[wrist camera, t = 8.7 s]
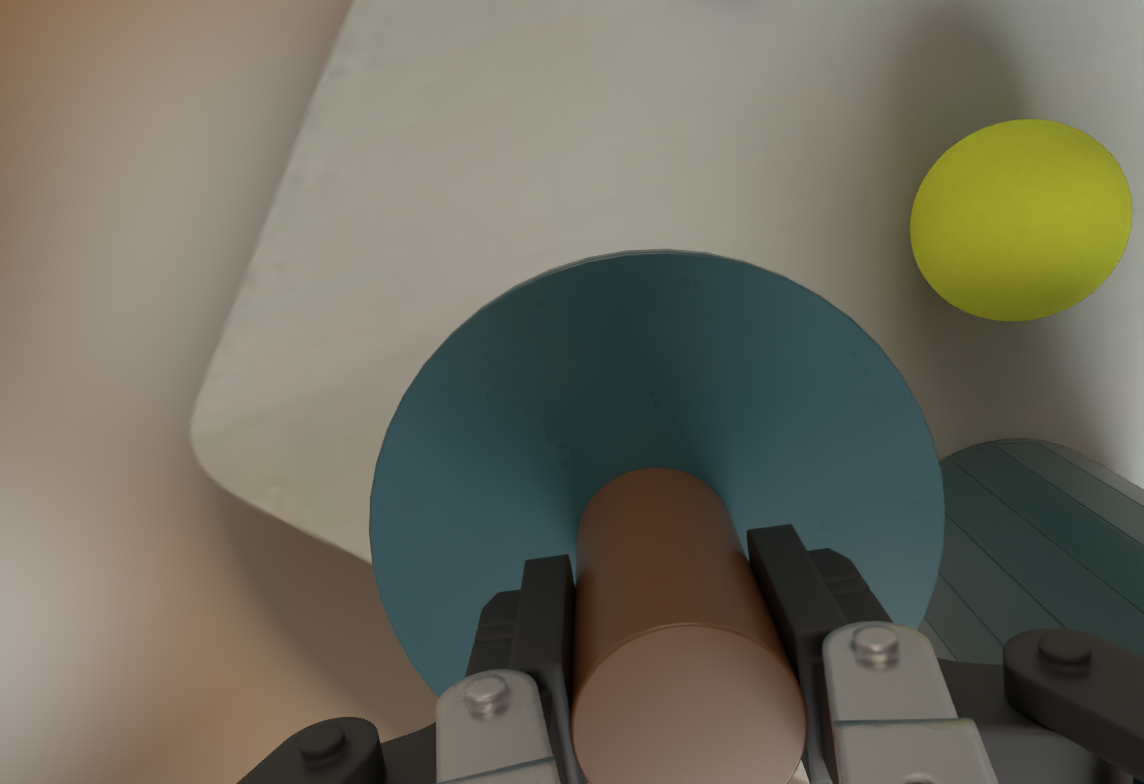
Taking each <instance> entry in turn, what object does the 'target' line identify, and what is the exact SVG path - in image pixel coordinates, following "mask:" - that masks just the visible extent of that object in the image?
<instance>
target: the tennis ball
mask: <svg viewBox="0 0 1144 784" xmlns="http://www.w3.org/2000/svg"><path fill="white" fill-rule="evenodd" d="M1131 225H1132V199H1131V194H1130V189H1129V186H1128V183H1127V180H1126V178H1125V176H1124V174H1123V172H1122V169H1121V167H1120V166H1119V164H1118V163H1117V161H1116V160H1115V158H1114V157H1113V156H1112V154H1111V153H1110V152H1109V151H1108V150H1107V149H1106V148H1105V147H1104V146H1103V145H1101V144H1100V143H1099V142H1098V141H1096V140H1095V139H1094V138H1093V137H1091V136H1090V135H1088V134H1086V133H1084V132H1083V131H1081V130H1079V129H1076V128H1074V127H1071V126H1069V125H1066V124H1063V123H1059V122H1054V121H1050V120H1040V119H1020V120H1012V121H1006V122H1001V123H998V124H995V125H991V126H988V127H985V128H983V129H980V130H978V131H976V132H974V133H972V134H970V135H968V136H967V137H965V138H964V139H962V140H960V141H959V142H957V143H956V144H955V145H953V146H952V147H951V148H950V149H948V150H947V151H946V152H945V153H944V154H943V155H942V156H941V157H940V158H939V159H938V160H937V161H936V162H935V164H934V165H933V166H932V168H931V169H930V170H929V171H928V173H927V175H926V176H925V178H924V180H923V181H922V183H921V185H920V188H919V190H918V192H917V194H916V197H915V200H914V204H913V207H912V213H911V219H910V237H911V245H912V250H913V254H914V257H915V260H916V262H917V265H918V267H919V269H920V271H921V273H922V274H923V276H924V278H925V279H926V280H927V282H928V283H929V284H930V286H931V287H932V288H933V289H934V290H935V291H936V292H937V293H938V294H939V295H940V296H941V297H942V298H944V299H945V300H946V301H948V302H949V303H950V304H952V305H954V306H955V307H957V308H959V309H961V310H963V311H965V312H967V313H969V314H972V315H975V316H977V317H982V318H986V319H991V320H995V321H1007V322H1012V321H1028V320H1034V319H1040V318H1043V317H1047V316H1050V315H1053V314H1056V313H1058V312H1061V311H1063V310H1065V309H1067V308H1070V307H1071V306H1073V305H1075V304H1077V303H1078V302H1080V301H1082V300H1083V299H1084V298H1086V297H1087V296H1088V295H1090V294H1091V293H1092V292H1093V291H1094V290H1095V289H1096V288H1098V287H1099V286H1100V285H1101V284H1102V283H1103V282H1104V281H1105V280H1106V278H1107V277H1108V276H1109V275H1110V274H1111V272H1112V271H1113V269H1114V268H1115V266H1116V265H1117V263H1118V262H1119V260H1120V258H1121V256H1122V254H1123V252H1124V250H1125V247H1126V244H1127V242H1128V239H1129V235H1130V230H1131Z"/></svg>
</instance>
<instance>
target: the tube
mask: <svg viewBox="0 0 1144 784" xmlns="http://www.w3.org/2000/svg"><path fill="white" fill-rule="evenodd" d="M939 465H940V469H941V474H942V481H943V492H944V504H945V525H944V543H943V552H942V557H941V562H940V567H939V572H938V577H937V582H936V585H935V588H934V591H933V594H932V597H931V600H930V603H929V605H928V608H927V611H926V614H925V617H924V619H923V621H922V623H921V625H920V627H919V629H918V631H919V632H920V633H922V634H923V635H924V636H926V637H927V639H928V640H929V641H930V643H931V645H932V647H933V650H934V653H935V655H936V657H937V658H941V659H945V660H950V661H956V662H964V663H978V664H996V665H1003V655H1002V650H1003V646H1004V645H1005V643H1006V642H1007V641H1008V640H1009V639H1010V638H1011V637H1013V636H1015V635H1017V634H1019V633H1022V632H1025V631H1030V630H1035V629H1043V628H1060V629H1071V630H1077V631H1082V632H1087V633H1090V634H1093V635H1097V636H1099V637H1102V638H1104V639H1107V640H1109V641H1111V642H1113V643H1116V644H1118V645H1120V646H1123V647H1125V648H1127V649H1129V650H1132V651H1134V652H1136V653H1138V654H1141V655H1143V656H1144V489H1142V488H1140V487H1138V486H1137V485H1135V484H1133V483H1131V482H1130V481H1128V480H1126V479H1124V478H1123V477H1121V476H1119V475H1117V474H1116V473H1114V472H1112V471H1110V470H1109V469H1107V468H1105V467H1103V466H1102V465H1100V464H1098V463H1096V462H1095V461H1093V460H1091V459H1089V458H1088V457H1086V456H1084V455H1082V454H1081V453H1078V452H1076V451H1073V450H1071V449H1068V448H1066V447H1063V446H1060V445H1057V444H1054V443H1049V442H1045V441H1040V440H1030V439H1005V440H998V441H992V442H986V443H983V444H979V445H976V446H972V447H969V448H967V449H964V450H962V451H960V452H957V453H955V454H953V455H951V456H949V457H947V458H945V459H944V460H942V461H940V462H939ZM1133 784H1144V783H1143V782H1142V781H1140V780H1138V779H1136V778H1135V777H1133Z"/></svg>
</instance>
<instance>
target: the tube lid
mask: <svg viewBox="0 0 1144 784" xmlns="http://www.w3.org/2000/svg"><path fill="white" fill-rule="evenodd" d="M786 524H792V525H793V527H794V529H795V531H796V532H797V534H798V536H799V537H800V539H801V541H802V543H803V544H804V546H805V548H806V550H807V551H809V550H817V549H824V548H830V549H832V550H834V551H836V552H838V553H839V554H841V555H843V556H845V557H847V558H849V559H851V561H852V562H853V564H854V565H855V567H856V568H857V570H858V571H859V572H860V574H861V577H862V578H864V580H865V581H866V583H867V584H868V586H869V587H870V591H872V592H873V593H874V595H875V596H876V598H877V599H878V601H879V602H880V603H881V605H882V606H883V608H884V609H885V611H886V612H887V614H888V615H889V617H890V618H891V620H892V621H893V623H898V624H901V625H905V626H908V627H910V628H913V629H915V630H917V631H918V629H919V627H920V625H921V623H922V621H923V619H924V617H925V614H926V611H927V608H928V605H929V603H930V600H931V597H932V594H933V591H934V588H935V585H936V582H937V577H938V572H939V567H940V562H941V557H942V552H943V543H944V525H945V504H944V492H943V481H942V474H941V469H940V465H939V461H938V457H937V452H936V448H935V444H934V440H933V438H932V435H931V432H930V430H929V427H928V425H927V422H926V420H925V417H924V415H923V412H922V410H921V407H920V405H919V403H918V402H917V400H916V398H915V396H914V395H913V393H912V391H911V389H910V388H909V386H908V384H907V382H906V381H905V379H904V377H903V375H902V374H901V373H900V371H899V370H898V369H897V368H896V366H895V365H894V364H893V362H892V361H891V360H890V359H889V357H888V356H887V355H886V353H885V352H884V351H883V349H882V348H881V347H880V346H879V345H878V344H877V343H876V342H875V341H874V340H873V339H872V338H871V337H870V336H869V335H868V334H867V333H866V332H865V331H864V330H863V329H862V328H861V327H860V326H859V325H858V324H857V323H856V322H855V321H854V320H853V319H852V318H850V317H849V316H848V315H846V314H845V313H843V312H842V311H841V310H839V309H838V308H837V307H835V306H834V305H832V304H831V303H830V302H828V301H827V300H826V299H824V298H823V297H821V296H820V295H818V294H816V293H814V292H813V291H811V290H809V289H807V288H805V287H803V286H801V285H799V284H798V283H796V282H794V281H792V280H790V279H788V278H786V277H784V276H783V275H781V274H778V273H775V272H772V271H770V270H767V269H764V268H762V267H759V266H756V265H754V264H751V263H748V262H745V261H742V260H737V259H733V258H729V257H724V256H720V255H715V254H711V253H706V252H696V251H685V250H673V249H652V250H629V251H621V252H616V253H610V254H605V255H599V256H593V257H588V258H584V259H581V260H578V261H575V262H572V263H569V264H566V265H562V266H559V267H556V268H553V269H550V270H548V271H545V272H543V273H541V274H539V275H537V276H535V277H533V278H531V279H528V280H526V281H524V282H522V283H520V284H518V285H516V286H514V287H512V288H511V289H509V290H508V291H506V292H504V293H503V294H501V295H500V296H498V297H497V298H495V299H494V300H492V301H491V302H489V303H487V304H486V305H484V306H483V307H481V308H480V309H479V310H478V311H477V312H476V313H474V314H473V315H472V316H471V317H470V318H469V319H467V320H466V321H465V322H464V323H463V324H461V325H460V326H459V327H458V328H457V329H456V330H454V331H453V332H452V333H451V335H450V336H449V337H448V338H447V339H446V340H445V341H444V342H443V344H442V345H441V346H440V347H439V348H438V349H437V350H436V351H435V352H434V354H433V355H432V356H431V357H430V358H429V359H428V360H427V361H426V363H425V364H424V365H423V367H422V368H421V370H420V371H419V373H418V374H417V376H416V377H415V379H414V380H413V382H412V383H411V385H410V386H409V388H408V389H407V391H406V392H405V394H404V395H403V397H402V399H401V401H400V403H399V405H398V407H397V410H396V412H395V414H394V416H393V418H392V420H391V422H390V424H389V426H388V428H387V431H386V434H385V437H384V440H383V443H382V447H381V450H380V453H379V456H378V459H377V462H376V467H375V473H374V479H373V485H372V490H371V496H370V520H369V537H370V546H371V555H372V565H373V570H374V574H375V578H376V582H377V586H378V590H379V594H380V598H381V601H382V604H383V607H384V609H385V612H386V614H387V617H388V619H389V621H390V624H391V626H392V629H393V631H394V634H395V635H396V637H397V639H398V641H399V642H400V644H401V646H402V648H403V649H404V652H405V653H406V655H407V657H408V659H409V660H410V662H411V664H412V665H413V666H414V668H415V669H416V670H417V672H418V673H419V674H420V676H421V677H422V678H423V680H424V681H425V682H426V683H427V685H428V686H429V688H430V689H431V690H432V691H433V692H434V693H435V694H436V695H437V696H438V697H439V698H440V697H441V695H442V694H443V693H444V692H445V691H446V690H447V689H448V688H449V687H450V686H452V685H453V684H455V683H456V682H458V681H459V680H461V679H464V678H465V676H466V672H467V667H468V663H469V659H470V655H471V651H472V647H473V643H475V640H474V639H475V635H476V631H477V629H478V623H479V619H480V615H481V611H482V608H483V607H484V606H485V605H486V604H487V603H488V602H489V601H490V600H491V599H492V598H493V597H494V596H495V595H496V594H497V593H498V592H504V591H512V590H519V589H521V584H522V577H523V571H524V565H525V561H526V560H528V559H536V558H543V557H550V556H558V555H565V554H568V555H569V558H570V562H571V567H572V573H573V579H574V584H575V605H574V634H573V663H572V692H571V719H570V736H571V743H572V748H573V753H574V756H575V758H576V761H577V764H578V766H579V768H580V770H581V772H582V774H583V776H584V778H585V779H586V780H587V782H588V783H589V784H787V783H788V782H789V781H790V779H791V778H792V776H793V775H794V773H795V771H796V769H797V767H798V765H799V763H800V761H801V758H802V755H803V752H804V749H805V745H806V739H807V733H808V716H807V708H806V703H805V699H804V696H803V692H802V690H801V688H800V685H799V683H798V680H797V678H796V675H795V673H794V671H793V668H792V666H791V663H790V661H789V658H788V656H787V654H786V651H785V649H784V646H783V644H782V641H781V639H780V636H779V634H778V632H777V629H776V627H775V624H774V622H773V619H772V617H771V615H770V612H769V610H768V607H767V605H766V602H765V600H764V598H763V595H762V593H761V590H760V588H759V585H758V583H757V581H756V578H755V576H754V573H753V571H752V568H751V566H750V563H749V555H748V547H747V530H749V529H756V528H764V527H771V526H778V525H786Z"/></svg>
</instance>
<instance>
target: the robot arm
mask: <svg viewBox="0 0 1144 784" xmlns="http://www.w3.org/2000/svg"><path fill="white" fill-rule="evenodd" d="M747 547H748V555H749V563H750V566H751V568H752V571H753V573H754V576H755V578H756V581H757V583H758V585H759V588H760V590H761V593H762V595H763V598H764V600H765V602H766V605H767V607H768V610H769V612H770V615H771V617H772V619H773V622H774V624H775V627H776V629H777V632H778V634H779V636H780V639H781V641H782V644H783V646H784V649H785V651H786V654H787V656H788V658H789V661H790V663H791V666H792V668H793V671H794V673H795V675H796V678H797V680H798V683H799V685H800V688H801V690H802V692H803V696H804V699H805V703H806V708H807V716H808V733H807V739H806V745H805V749H804V752H803V755H802V758H801V760H802V763H803V765H804V768H805V771H806V774H807V776H808V779H809V782H810V784H1133V777H1135V778H1136V779H1138V780H1140V781H1142V782H1143V783H1144V656H1143V655H1141V654H1138V653H1136V652H1134V651H1132V650H1129V649H1127V648H1125V647H1123V646H1120V645H1118V644H1116V643H1113V642H1111V641H1109V640H1107V639H1104V638H1102V637H1099V636H1097V635H1093V634H1090V633H1087V632H1082V631H1077V630H1071V629H1060V628H1043V629H1035V630H1030V631H1025V632H1022V633H1019V634H1017V635H1015V636H1013V637H1011V638H1010V639H1009V640H1008V641H1007V642H1006V643H1005V645H1004V646H1003V650H1002V655H1003V665H996V664H978V663H964V662H956V661H950V660H945V659H941V658H937V657H936V655H935V653H934V650H933V647H932V645H931V643H930V641H929V640H928V639H927V637H926V636H924V635H923V634H922V633H920V632H919V631H917V630H915V629H913V628H910V627H908V626H905V625H901V624H898V623H893V621H892V620H891V618H890V617H889V615H888V614H887V612H886V611H885V609H884V608H883V606H882V605H881V603H880V602H879V601H878V599H877V598H876V596H875V595H874V593H873V592H872V591H870V587H869V586H868V584H867V583H866V581H865V580H864V578H862V577H861V574H860V572H859V571H858V570H857V568H856V567H855V565H854V564H853V562H852V561H851V559H849V558H847V557H845V556H843V555H841V554H839V553H838V552H836V551H834V550H832V549H830V548H824V549H817V550H809V551H807V550H806V548H805V546H804V544H803V543H802V541H801V539H800V537H799V536H798V534H797V532H796V531H795V529H794V527H793V525H792V524H786V525H778V526H771V527H764V528H756V529H749V530H747ZM574 605H575V584H574V579H573V573H572V567H571V562H570V558H569V555H568V554H565V555H558V556H550V557H543V558H536V559H528V560H526V561H525V565H524V571H523V577H522V584H521V589H519V590H512V591H504V592H498V593H497V594H496V595H495V596H494V597H493V598H492V599H491V600H490V601H489V602H488V603H487V604H486V605H485V606H484V607H483V608H482V611H481V615H480V619H479V623H478V629H477V631H476V635H475V639H474V640H475V643H473V647H472V651H471V655H470V659H469V663H468V667H467V672H466V676H465V678H464V679H461V680H459V681H458V682H456V683H455V684H453V685H452V686H450V687H449V688H448V689H447V690H446V691H445V692H444V693H443V694H442V695H441V697H440V698H439V700H438V702H437V706H436V722H435V723H433V724H431V725H430V726H428V727H425V728H423V729H421V730H419V731H416V732H413V733H411V734H408V735H405V736H402V737H399V738H396V739H393V740H390V741H387V742H384V743H381V744H380V740H379V735H378V731H377V729H376V727H375V726H374V724H372V723H371V722H369V721H367V720H365V719H362V718H357V717H341V718H334V719H329V720H325V721H322V722H318V723H315V724H313V725H311V726H308V727H306V728H304V729H302V730H300V731H298V732H297V733H295V734H294V735H292V736H291V737H289V738H288V739H287V740H286V741H284V742H283V743H282V744H281V745H280V746H279V747H277V748H276V749H275V750H274V751H273V752H272V753H271V754H269V755H268V756H267V757H266V758H265V759H264V760H263V761H262V762H260V763H259V764H258V765H257V766H256V767H255V768H254V769H253V770H251V771H250V772H249V773H248V774H247V775H246V776H245V777H243V778H242V779H241V780H240V781H239V782H238V783H237V784H587V783H588V782H587V780H586V779H585V778H584V776H583V774H582V772H581V770H580V768H579V766H578V764H577V761H576V758H575V756H574V753H573V748H572V743H571V736H570V719H571V692H572V663H573V634H574Z"/></svg>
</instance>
